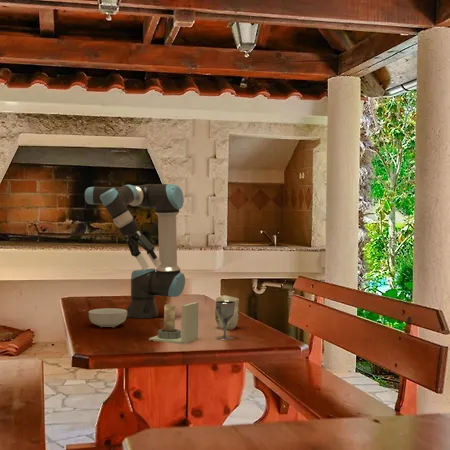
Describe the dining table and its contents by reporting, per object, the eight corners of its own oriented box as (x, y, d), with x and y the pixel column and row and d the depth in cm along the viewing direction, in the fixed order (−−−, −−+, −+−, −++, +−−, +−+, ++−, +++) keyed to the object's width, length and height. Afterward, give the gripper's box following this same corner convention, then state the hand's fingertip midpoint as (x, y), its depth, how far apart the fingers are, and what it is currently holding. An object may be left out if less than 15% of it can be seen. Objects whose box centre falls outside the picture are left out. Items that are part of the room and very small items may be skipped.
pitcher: (218, 332, 299) (219, 300, 298) (211, 325, 316) (212, 295, 316) (243, 332, 300) (244, 300, 300) (235, 325, 318) (236, 295, 318)
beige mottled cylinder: (161, 337, 279) (162, 305, 279) (166, 335, 283) (167, 304, 283) (171, 338, 277) (172, 306, 277) (176, 336, 281) (177, 305, 281)
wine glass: (214, 336, 289) (215, 300, 288) (233, 336, 289) (234, 300, 289) (215, 340, 281) (216, 303, 280) (235, 340, 281) (236, 303, 281)
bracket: (148, 340, 277) (149, 302, 277) (162, 335, 288) (163, 299, 288) (184, 344, 271) (185, 305, 271) (197, 339, 282) (198, 302, 282)
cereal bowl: (112, 322, 320) (112, 306, 320) (134, 326, 308) (134, 311, 308) (81, 325, 308) (81, 310, 308) (102, 331, 296) (102, 314, 296)
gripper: (108, 232, 294) (134, 274, 297) (129, 224, 272) (157, 269, 275) (122, 223, 298) (148, 264, 301) (144, 214, 276) (171, 259, 279)
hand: (152, 267), depth 288 cm, fingers open, 13 cm apart
